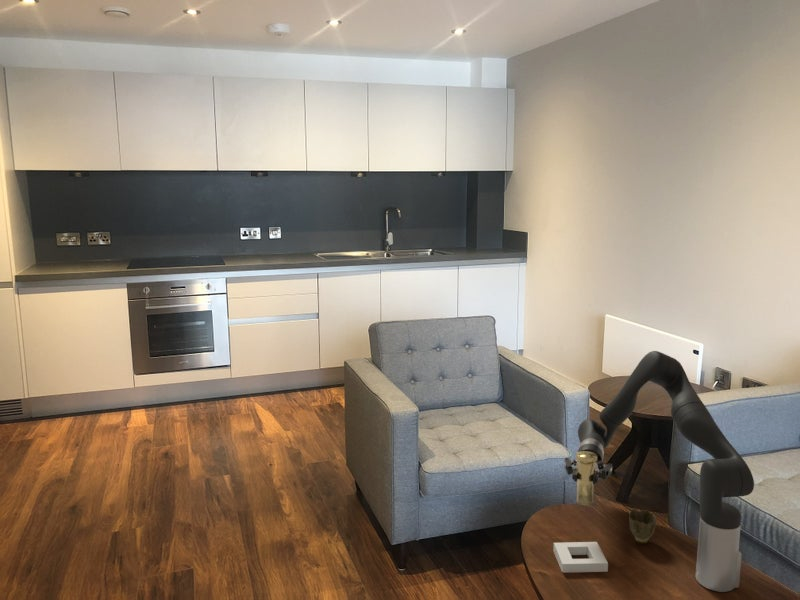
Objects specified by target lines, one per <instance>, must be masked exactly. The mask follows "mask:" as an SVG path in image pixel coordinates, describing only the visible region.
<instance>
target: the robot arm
mask: <svg viewBox="0 0 800 600" xmlns="http://www.w3.org/2000/svg"><path fill="white" fill-rule="evenodd" d="M648 382H651V383H654V384H656V385H658V386H660V387H662V388H663V389H664V390H665V391H666V393H668V395H669V397H670V398H671V401H672V402H671V406H670V414H671V418H672V420H673V422H674V423H675V425H676V427H677V429H678V431H679V432H680V434H681V435H682V436H683V438H685V439H686V441H688V442H690V443H692V444H693V445H694V446H696V447H698V448H699V449H701V450H703V451H704V452H706V453H707V454H708V455H710V456H711V457H712V458H711V459H706V460H704V461H703V462H702V464H701V467H700V472H699V510H700V515H699V516H700V517H699V527H698V541H697V553H696V555H697V556H696V564H695V565H696V567H695V579H696V581H697V582H698V583H699V584H700V585H701V587H702V586H703V587H704V588H706V589H708V590H710V591H714V592H719V593H725V592H730V591H731V592H732V590H734V589H736V588H737V589H738V588H740V579H741V578H740V577H741V576H740V575H741V567H742V555H743V554H742V552H741V551H740V550H739V549H740V547H739V546H740V537H741V526H742V525H741V523H742V513H741V512H740V510H739V509H738V508H737V507H735V506H734V505H733V504H729V503H727V502H724V501H723V498H738V497H746V496H749V495H751V494H752V492H753V490H754V489H755V480H754V476H753V473H752V471H751V469H750V467H749V466H748V464H747V462H746V461H745V460H744V458H743V457H742V456H741V455H740V453H739V452H738V451H737V450H736V448H735V447H734V446H733V445H732V444H731V443H730V441H729V440H728V439H727V438H726V436H725V435H724V433H723V432H722V430H721V429H720V427H719V426H718V424H717V423H716V422H715V420H714V417H713V416H712V414H711V413H710V412H709V411H710V410H708V408H707V407H706V405H705V404H704V402H703V401H702V399H701V398H700V397H699V394H697V392H696V390H695V389H694V387H693V385H692V384H691V382H690V380H689V377H688V376H687V374H686V371H685V369H684V367H683V365H682V364H681V362H680V361H679V360H677V359H676V358H675V357H672V356H670V355H668V354H667V353H666V354H665V353H663V352H661V351H658V350H652V351H649V352H648V353H647V354H645V355H644V356H643V357H642V358H641V360H639V362H638V364H637V365H636V367H635V368H634V369H633V371H632V373H631V374H630V375H629V377H628V378H627V380H626V381H625V383H624V385H622V388H620V390H619V391H618V393H617V394H616V395H615V396H614V398H613V399H611V401H610V402H608V404H607V405H606V406H605V407H604V408H603V409H602V410H601V411H600V413H599V419H600V422H601V423H602V424H603V425H604V426H602V425H601V424H600V423H599V422H598V421H596V420H595V419H593V418H587V419H585V420H583V421H581V422H580V425H579V426H578V429H577V436H578V439H579V442H580V444H579V446H578V449H577V452H580V451H588V452H592V453H595V454H596V455H597V461H596V462H594V474H593V484H594V485H596V483H597V484H598V483H599V479H601V480H606V479H607V478H608V477H609V476H610V475H611V474H612V473H613V464H612V463H607V464H604V462H603V460H604V455H605V451H604V450H605V449H607V447H608V446H609V445H610V444H611V441H612V439H613V437H614V435H615V433H616V431H617V430H618V429H619V427H621V425H622V424H623V423H624V422H625V421H626V420H627V419H628V418H629V417H631V415H632V414H633V412H634V411H635V407H636V405H637V399H638V395H639V392H640V390H641V389H642V388H643V387H644V385H645V384H647V383H648ZM563 460H564V464H563V466H564V469H565V471H566V474H567V475H570V476H571V477H572V478H571V479H572V481H574V482H577V479H578V461H577V460H576V457H575V458H573V459H572V460H571V459H569V458H568V457H564V459H563Z"/></svg>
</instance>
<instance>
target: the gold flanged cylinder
mask: <svg viewBox="0 0 800 600" xmlns="http://www.w3.org/2000/svg"><path fill="white" fill-rule="evenodd" d="M575 458H576V460H577V461H578V479H577V483H576V484H577V485H576V486H577V487H576V502H577V504H579V505H581V506H592V505H593V504H594V485H595V484H593V474H594V462H596V461H597V455H596V454H595V453H592V452H588V451H580V452H578V451H577V452H576V453H575Z"/></svg>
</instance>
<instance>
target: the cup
mask: <svg viewBox="0 0 800 600" xmlns="http://www.w3.org/2000/svg"><path fill="white" fill-rule="evenodd" d="M657 519H658V516H656V514H653V512H650V511H649V509H646V510H644V509H640V511H637V509H631V510H630V511H629V513H628V521H629V529H630V532H631V534H632V535H633V536H634V540H635V541H636V542H637V543H639V544H647V543H648V541H649V539H650V538H651V537H652V536H653V535H654V533H655V529H656V525H657Z"/></svg>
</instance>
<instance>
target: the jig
mask: <svg viewBox="0 0 800 600" xmlns="http://www.w3.org/2000/svg"><path fill="white" fill-rule="evenodd" d="M553 554H554V556H555V558H556V561H557V563H558V565H559V568H560V570H561V573H562V572H563V573H564V574H565V573H567V574H568V573H598V572H599V573H603V572H607V573H608V571H609V563H608V560H607V558H606V556H605V554H604V553H603V550H602V549H601V547H600V545H599V544H598V542H597V541H577V542H575V541H571V542H570V541H569V542H568V541H567V542H565V541H564V542H553ZM586 555H587V558H573V557H572V556H586Z"/></svg>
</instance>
